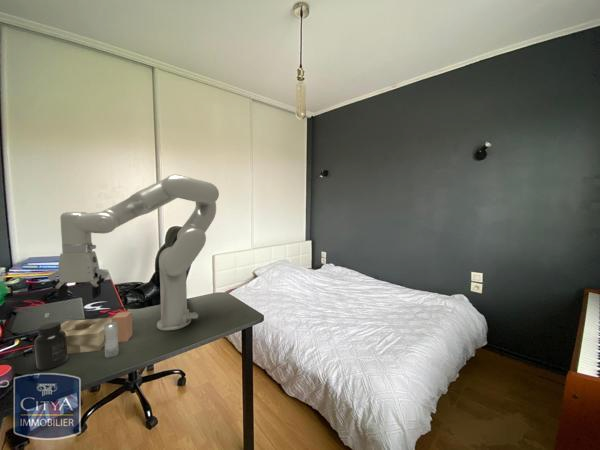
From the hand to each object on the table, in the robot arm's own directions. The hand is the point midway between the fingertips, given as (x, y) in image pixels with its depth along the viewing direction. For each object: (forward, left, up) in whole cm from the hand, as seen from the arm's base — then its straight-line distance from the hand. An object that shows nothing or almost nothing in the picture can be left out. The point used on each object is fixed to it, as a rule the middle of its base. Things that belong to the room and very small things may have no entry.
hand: (80, 297), depth 87 cm
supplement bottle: (+2, +11, -16) cm, 20 cm away
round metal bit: (-13, +9, -16) cm, 23 cm away
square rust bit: (-12, -1, -16) cm, 20 cm away
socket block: (0, 0, -16) cm, 16 cm away
